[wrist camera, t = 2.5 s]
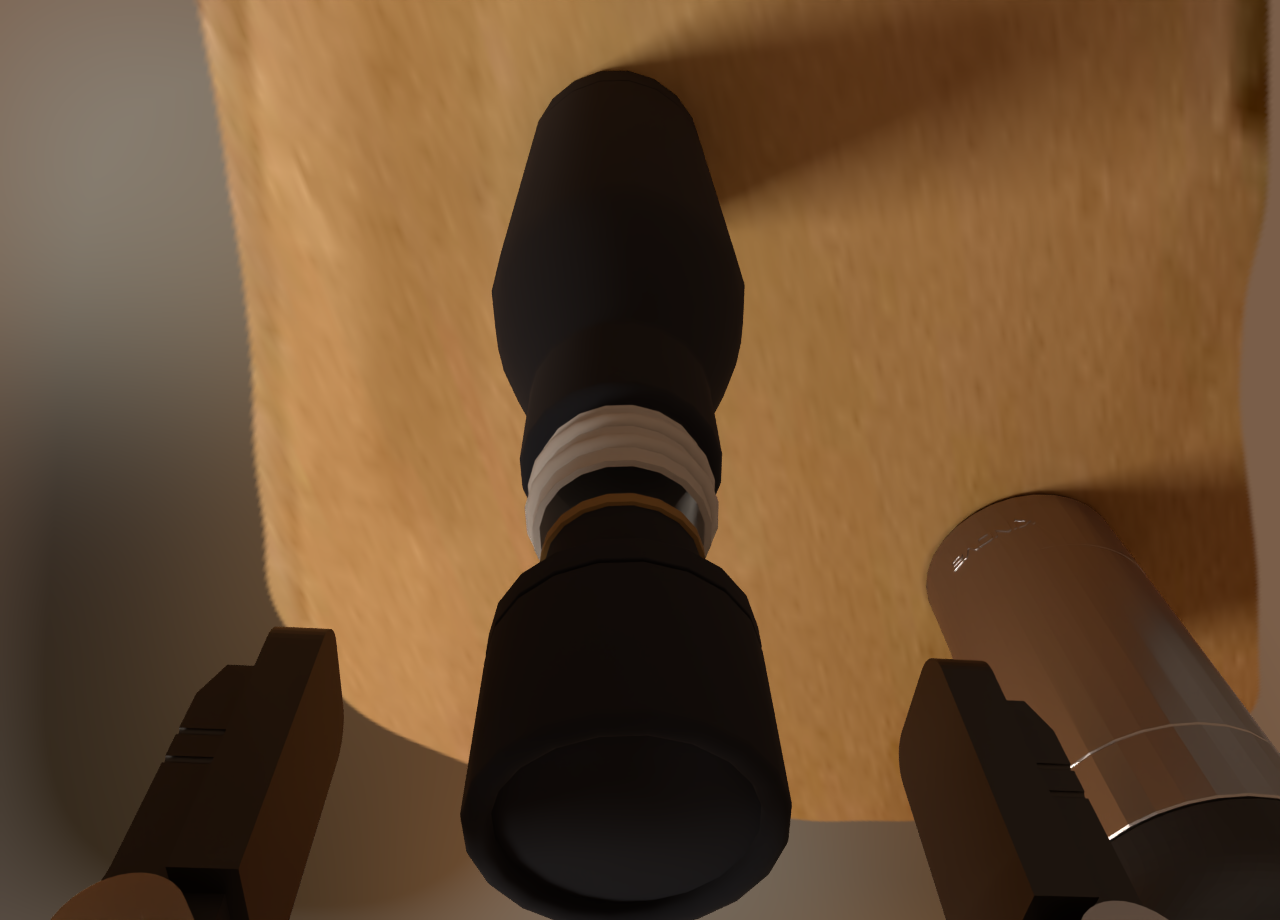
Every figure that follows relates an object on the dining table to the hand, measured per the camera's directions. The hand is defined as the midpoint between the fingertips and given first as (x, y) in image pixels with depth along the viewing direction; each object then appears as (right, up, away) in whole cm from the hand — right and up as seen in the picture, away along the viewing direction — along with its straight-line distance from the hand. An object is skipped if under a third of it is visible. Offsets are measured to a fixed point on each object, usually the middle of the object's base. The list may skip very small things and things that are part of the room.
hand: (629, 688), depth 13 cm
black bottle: (-1, +15, +24) cm, 28 cm away
